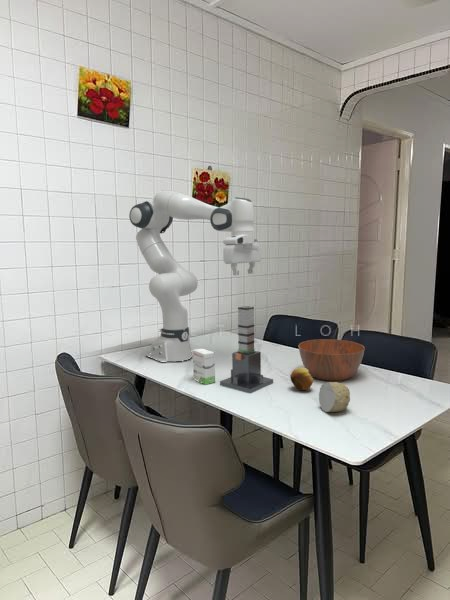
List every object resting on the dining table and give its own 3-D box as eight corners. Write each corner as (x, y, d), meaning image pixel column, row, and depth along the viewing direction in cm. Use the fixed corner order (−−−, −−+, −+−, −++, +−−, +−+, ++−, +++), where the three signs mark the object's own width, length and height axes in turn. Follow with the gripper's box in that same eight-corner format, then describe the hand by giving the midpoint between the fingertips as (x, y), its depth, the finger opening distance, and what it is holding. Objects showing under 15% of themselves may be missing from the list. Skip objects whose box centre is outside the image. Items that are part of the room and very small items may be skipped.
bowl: (368, 369, 178) (368, 342, 177) (358, 388, 156) (359, 357, 154) (307, 363, 189) (307, 337, 187) (290, 380, 167) (290, 350, 165)
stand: (220, 385, 162) (219, 352, 160) (243, 376, 173) (243, 345, 171) (250, 393, 153) (250, 358, 151) (273, 383, 164) (273, 350, 162)
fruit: (308, 395, 151) (308, 372, 149) (286, 391, 155) (286, 368, 154) (316, 388, 157) (316, 366, 156) (294, 384, 161) (294, 363, 160)
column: (238, 356, 161) (237, 307, 159) (245, 353, 164) (244, 306, 162) (247, 357, 158) (247, 308, 156) (254, 355, 162) (254, 306, 159)
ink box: (215, 382, 165) (215, 352, 164) (204, 385, 162) (203, 354, 161) (203, 377, 172) (202, 347, 171) (192, 379, 169) (191, 349, 168)
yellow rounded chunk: (307, 386, 139) (333, 370, 141) (319, 413, 140) (345, 398, 143) (321, 393, 130) (349, 377, 132) (334, 423, 131) (361, 406, 133)
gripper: (252, 239, 184) (252, 272, 186) (220, 239, 168) (220, 275, 170) (264, 239, 180) (264, 272, 182) (233, 239, 164) (233, 276, 166)
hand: (243, 274), depth 176 cm, fingers open, 8 cm apart
